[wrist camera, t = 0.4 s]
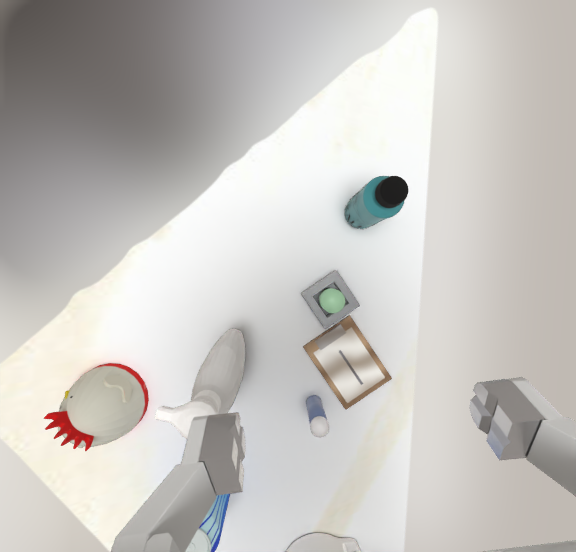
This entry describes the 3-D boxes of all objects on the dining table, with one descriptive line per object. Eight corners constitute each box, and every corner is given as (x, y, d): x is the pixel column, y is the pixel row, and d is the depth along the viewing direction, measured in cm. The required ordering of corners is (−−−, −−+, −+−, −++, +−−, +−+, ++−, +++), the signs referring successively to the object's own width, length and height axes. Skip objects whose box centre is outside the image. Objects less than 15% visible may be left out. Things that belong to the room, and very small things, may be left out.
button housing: (356, 304, 63) (360, 305, 60) (323, 326, 63) (325, 329, 60) (334, 270, 62) (336, 270, 60) (300, 293, 62) (301, 294, 60)
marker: (324, 404, 63) (332, 430, 53) (311, 413, 63) (317, 440, 53) (315, 391, 63) (322, 415, 53) (302, 400, 63) (307, 425, 53)
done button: (345, 302, 61) (349, 304, 58) (326, 314, 61) (329, 318, 58) (333, 283, 61) (336, 284, 58) (314, 296, 61) (316, 297, 57)
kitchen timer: (112, 348, 62) (58, 374, 47) (163, 397, 62) (126, 438, 47) (61, 399, 62) (-9, 441, 47) (113, 447, 62) (60, 504, 47)
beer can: (218, 448, 63) (196, 510, 47) (241, 483, 63) (228, 556, 47) (182, 471, 63) (148, 541, 47) (205, 506, 63) (180, 587, 47)
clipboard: (390, 377, 63) (393, 379, 62) (345, 408, 63) (346, 411, 62) (349, 315, 63) (350, 316, 61) (303, 346, 63) (303, 348, 61)
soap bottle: (215, 317, 62) (165, 355, 35) (255, 326, 62) (237, 370, 35) (199, 389, 62) (137, 481, 35) (239, 397, 63) (208, 496, 36)
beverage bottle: (378, 201, 62) (424, 170, 42) (370, 234, 62) (413, 218, 42) (346, 193, 62) (377, 158, 42) (338, 227, 62) (365, 207, 42)
